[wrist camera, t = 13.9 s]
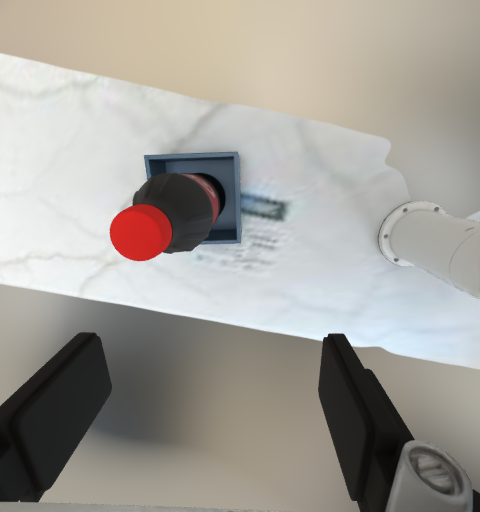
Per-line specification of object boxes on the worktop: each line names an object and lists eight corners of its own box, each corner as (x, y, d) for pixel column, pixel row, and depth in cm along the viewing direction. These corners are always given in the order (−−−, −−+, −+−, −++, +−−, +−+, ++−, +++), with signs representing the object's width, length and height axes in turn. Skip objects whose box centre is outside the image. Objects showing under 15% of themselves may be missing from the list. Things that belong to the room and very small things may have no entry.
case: (239, 155, 44) (237, 151, 35) (241, 231, 48) (240, 243, 40) (162, 158, 44) (143, 155, 36) (171, 233, 48) (156, 245, 40)
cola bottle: (204, 162, 44) (125, 143, 15) (236, 198, 45) (220, 243, 17) (171, 194, 45) (47, 232, 17) (203, 228, 47) (140, 313, 19)
